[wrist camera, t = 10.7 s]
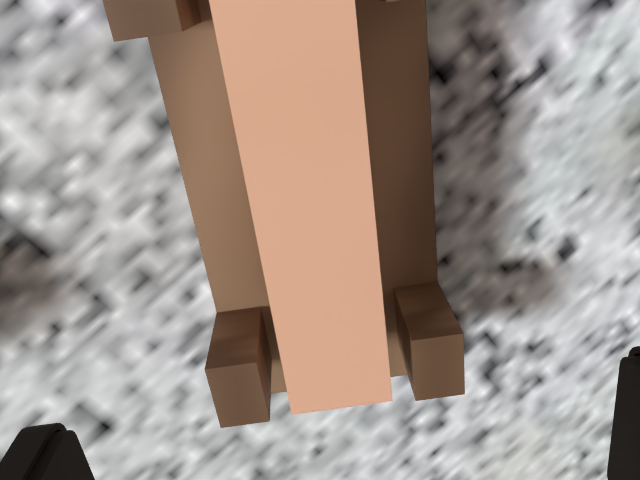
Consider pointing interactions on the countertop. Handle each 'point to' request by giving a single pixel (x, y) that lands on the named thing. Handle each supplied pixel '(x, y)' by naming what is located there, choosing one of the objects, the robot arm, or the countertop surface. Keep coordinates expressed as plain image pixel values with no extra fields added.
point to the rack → (235, 213)
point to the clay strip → (309, 192)
